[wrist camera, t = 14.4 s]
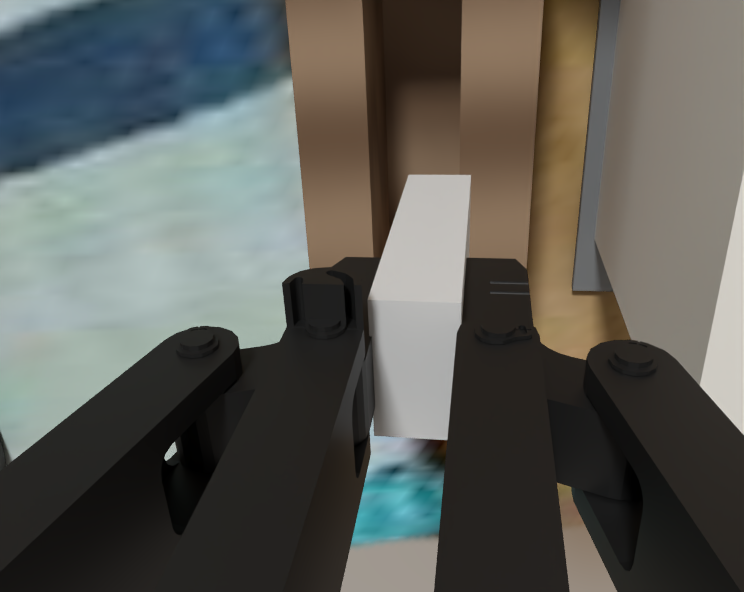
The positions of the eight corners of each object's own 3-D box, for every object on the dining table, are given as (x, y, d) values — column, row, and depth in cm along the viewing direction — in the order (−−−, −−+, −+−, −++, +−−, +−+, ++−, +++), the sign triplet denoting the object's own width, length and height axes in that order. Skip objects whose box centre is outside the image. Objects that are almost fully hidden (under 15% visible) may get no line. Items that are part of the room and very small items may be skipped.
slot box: (514, 285, 32) (520, 354, 27) (342, 281, 33) (316, 347, 28) (537, -119, 25) (552, -133, 20) (316, -107, 26) (274, -116, 21)
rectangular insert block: (655, 239, 30) (791, 482, 17) (594, 239, 30) (681, 476, 17) (698, -48, 25) (942, -23, 12) (625, -45, 25) (782, -18, 12)
